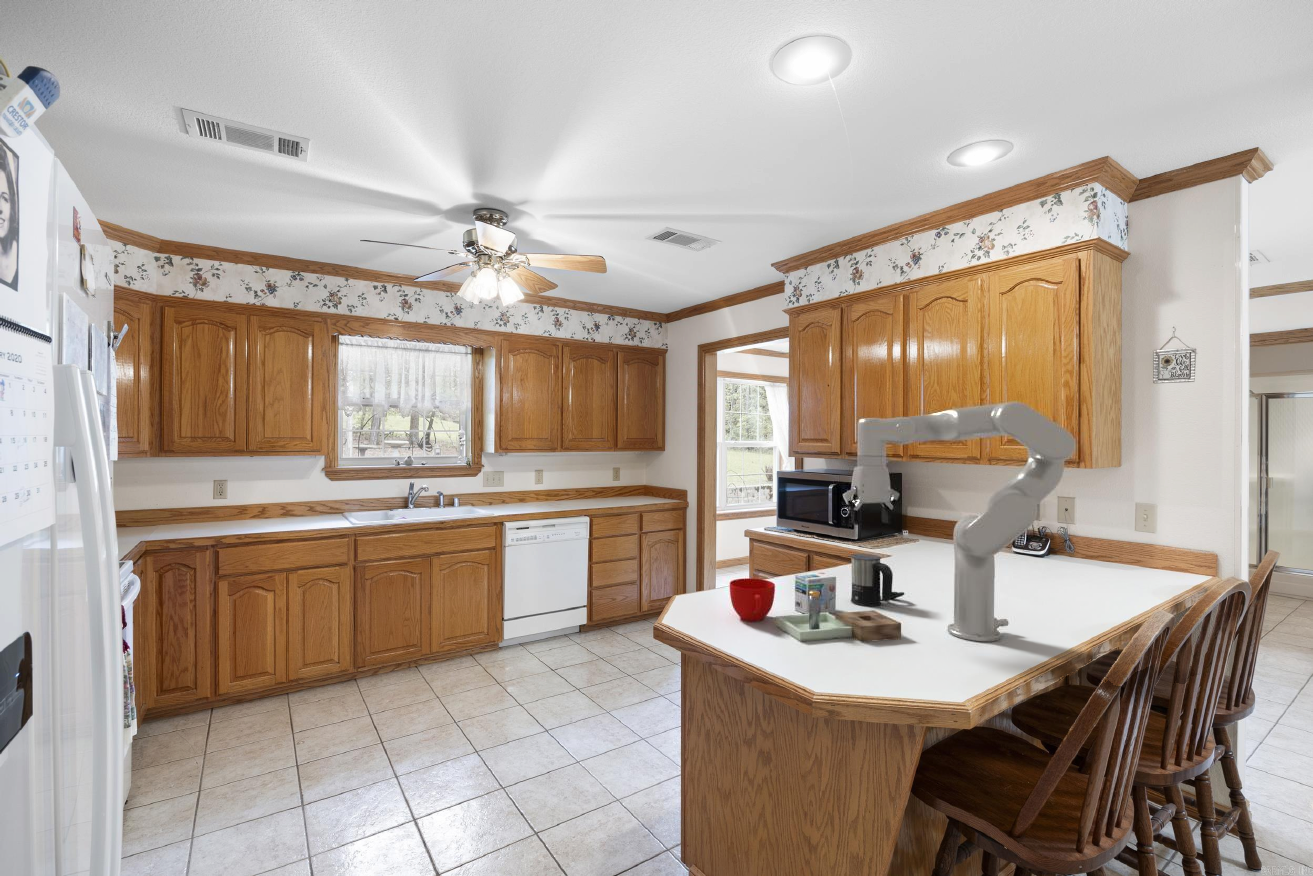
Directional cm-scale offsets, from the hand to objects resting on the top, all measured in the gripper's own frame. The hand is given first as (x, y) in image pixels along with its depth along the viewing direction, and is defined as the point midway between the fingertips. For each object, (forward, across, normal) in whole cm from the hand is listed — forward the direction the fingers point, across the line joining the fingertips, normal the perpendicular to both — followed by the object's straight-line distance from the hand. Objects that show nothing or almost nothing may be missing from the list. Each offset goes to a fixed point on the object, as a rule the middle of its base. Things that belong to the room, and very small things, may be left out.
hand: (871, 523), depth 172 cm
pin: (+28, +18, +1) cm, 33 cm away
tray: (+28, +18, +1) cm, 33 cm away
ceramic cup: (+28, +30, -12) cm, 43 cm away
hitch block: (+28, +5, +6) cm, 29 cm away
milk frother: (+29, -16, -20) cm, 39 cm away
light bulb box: (+28, +8, -16) cm, 34 cm away
